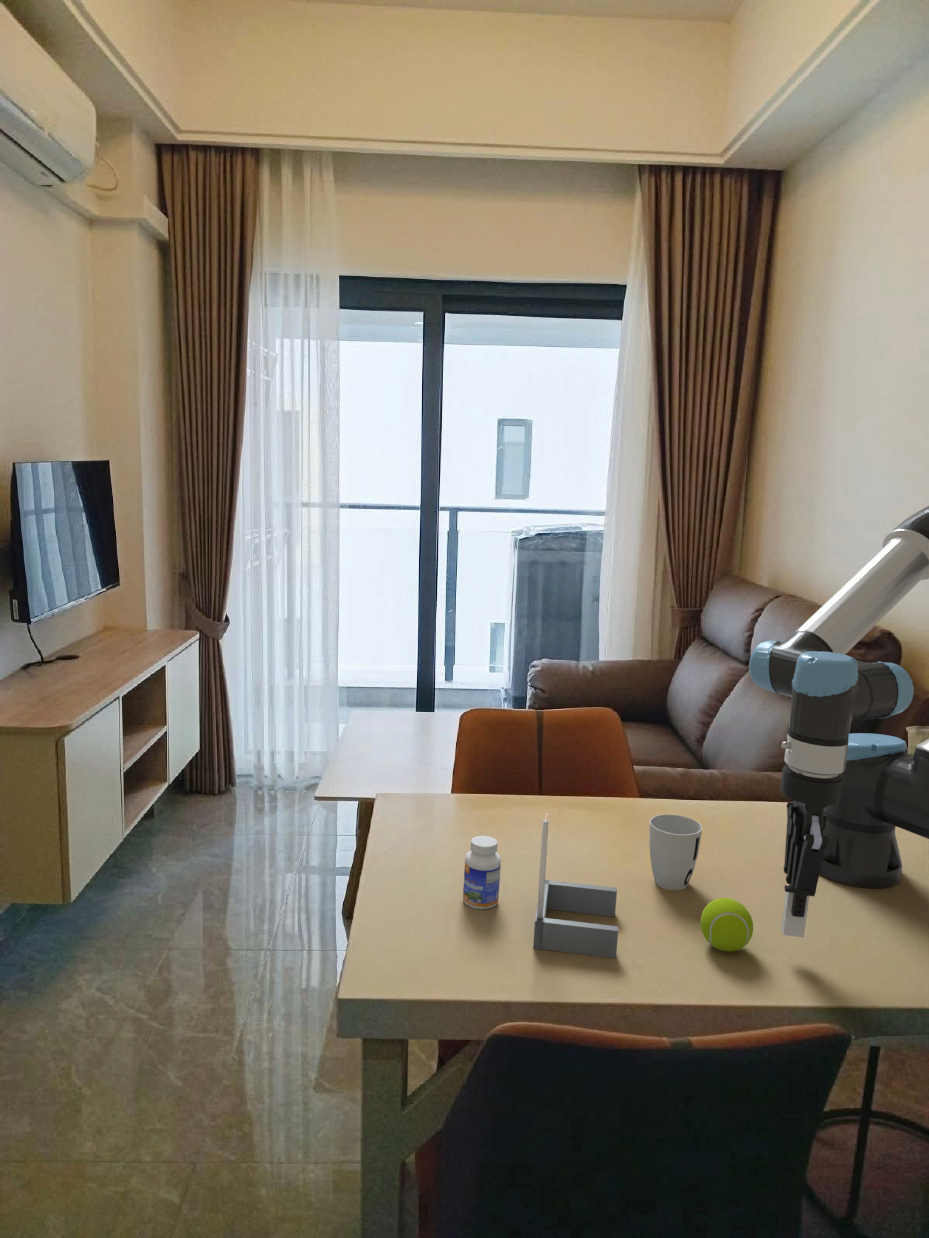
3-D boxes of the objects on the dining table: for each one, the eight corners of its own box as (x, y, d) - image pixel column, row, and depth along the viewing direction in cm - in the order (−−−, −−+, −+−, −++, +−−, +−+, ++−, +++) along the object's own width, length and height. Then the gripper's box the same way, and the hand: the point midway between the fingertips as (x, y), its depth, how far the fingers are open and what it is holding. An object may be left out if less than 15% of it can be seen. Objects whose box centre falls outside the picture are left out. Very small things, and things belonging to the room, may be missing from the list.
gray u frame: (614, 912, 129) (623, 798, 126) (616, 958, 117) (625, 832, 114) (539, 904, 131) (546, 790, 128) (533, 948, 119) (540, 824, 116)
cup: (698, 898, 135) (703, 837, 133) (644, 891, 136) (649, 831, 135) (695, 874, 143) (700, 817, 141) (644, 868, 144) (649, 811, 142)
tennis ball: (754, 964, 117) (759, 916, 116) (701, 958, 118) (705, 910, 117) (746, 937, 124) (751, 891, 123) (696, 931, 125) (700, 886, 124)
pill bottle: (455, 900, 131) (457, 839, 129) (480, 889, 135) (483, 830, 133) (481, 914, 127) (484, 852, 126) (506, 902, 131) (509, 841, 129)
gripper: (774, 751, 122) (755, 907, 126) (794, 782, 109) (773, 955, 113) (830, 756, 121) (809, 913, 125) (857, 788, 108) (833, 962, 112)
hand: (792, 933), depth 119 cm, fingers closed
